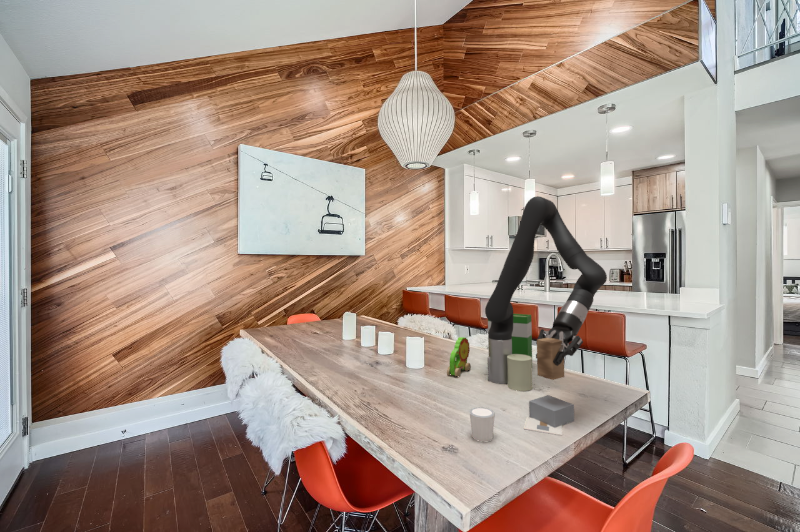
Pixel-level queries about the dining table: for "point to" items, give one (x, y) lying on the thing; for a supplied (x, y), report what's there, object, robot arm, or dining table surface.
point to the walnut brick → (549, 358)
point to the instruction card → (541, 427)
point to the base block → (551, 411)
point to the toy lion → (459, 357)
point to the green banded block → (520, 334)
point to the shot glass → (482, 423)
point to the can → (519, 372)
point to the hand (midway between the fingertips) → (546, 361)
